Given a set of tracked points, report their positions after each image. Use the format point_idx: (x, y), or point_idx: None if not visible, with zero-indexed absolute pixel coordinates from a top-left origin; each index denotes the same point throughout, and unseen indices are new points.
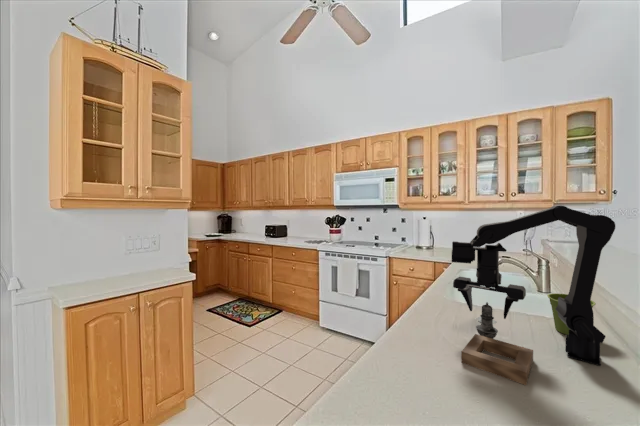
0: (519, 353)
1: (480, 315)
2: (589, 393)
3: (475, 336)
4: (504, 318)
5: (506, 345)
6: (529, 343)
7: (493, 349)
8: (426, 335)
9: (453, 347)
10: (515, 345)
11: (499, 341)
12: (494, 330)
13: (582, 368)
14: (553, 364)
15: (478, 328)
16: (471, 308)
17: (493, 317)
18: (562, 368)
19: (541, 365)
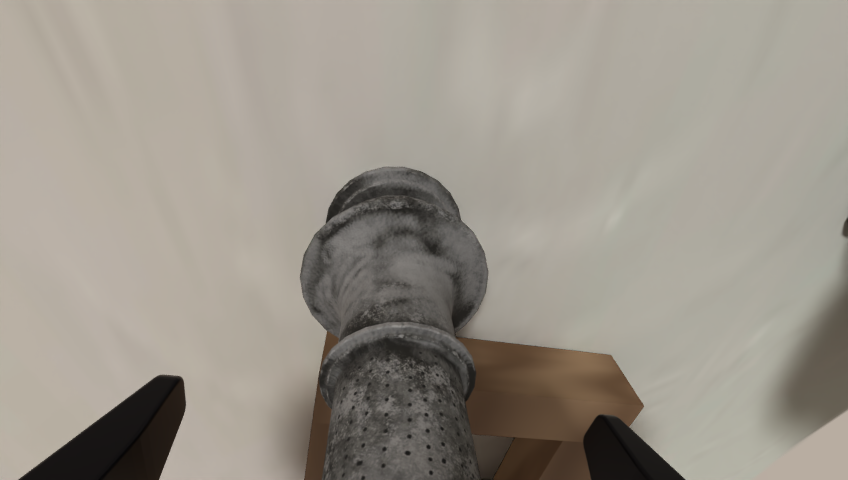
0: (552, 465)
1: (321, 389)
2: (705, 458)
3: (325, 409)
4: (588, 446)
5: (506, 425)
6: (703, 117)
7: None
8: (14, 366)
9: (230, 414)
10: (560, 403)
11: (474, 401)
12: (458, 313)
13: (824, 310)
14: (698, 338)
15: (327, 322)
16: (164, 450)
17: (473, 374)
18: (719, 353)
19: (632, 372)
